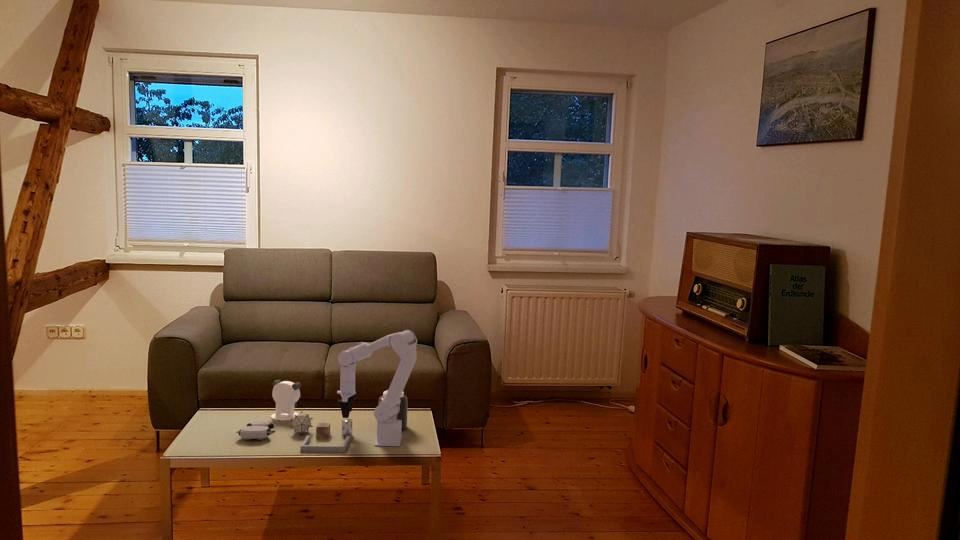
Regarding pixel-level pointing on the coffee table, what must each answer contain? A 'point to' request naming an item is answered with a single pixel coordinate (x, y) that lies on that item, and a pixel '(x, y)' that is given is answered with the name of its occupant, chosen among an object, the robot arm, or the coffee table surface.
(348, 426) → the silver cylinder
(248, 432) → the robot toy
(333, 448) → the parts pen
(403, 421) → the jar
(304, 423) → the game die
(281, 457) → the coffee table surface
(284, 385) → the panda figurine
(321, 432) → the walnut block
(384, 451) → the coffee table surface
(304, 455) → the coffee table surface
